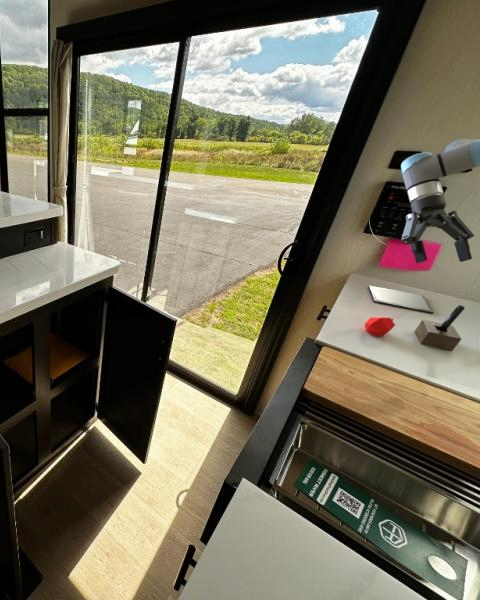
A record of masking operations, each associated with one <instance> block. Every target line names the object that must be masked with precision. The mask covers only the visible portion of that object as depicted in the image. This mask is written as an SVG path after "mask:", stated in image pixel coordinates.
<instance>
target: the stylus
mask: <svg viewBox="0 0 480 600" xmlns="http://www.w3.org/2000/svg"><path fill="white" fill-rule="evenodd" d="M464 310H465V306H464V305H463V304H462V305H461V304H459V305H457V306H456V307H455V308H454V310H453V311H452V312H451V313H450V314H449V315H448V316H447V318H446V319H445V320H444V321H443V322H442V325H441V326H440V327H439V328H438V330H439V331H444V332H445V331H446V330H447V328H448V327H449V326H450V325H451V326H452V324H453V323H454V322H455V320H457V318H458V317H460V315H461V314H462V313H463V311H464Z"/></svg>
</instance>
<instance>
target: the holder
mask: <svg viewBox="0 0 480 600" xmlns="http://www.w3.org/2000/svg"><path fill="white" fill-rule="evenodd" d="M442 324H443V322H442V323H441V322H437V321H431V320H427V319H421V321H420V323H419V324H418V325H417V326H416V329H414V334H415V336H416V338H417V339H418V343H419V344H420V345H424V346H428V347H431V348H436V349H440V350H445V351H449V352H453V351H454V349H455V348H456V347H457V345H458V344H459V343H460V342H461V340H462V337H461V335H460V334H459V332H458V331H457V329H456V328H455V326H454V325H452V324H451V325H450V326H449V327H448V328H447V330H446V331H445V332H444V331H439V330H438V328H439V327H440V326H441V325H442Z"/></svg>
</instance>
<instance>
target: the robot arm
mask: <svg viewBox="0 0 480 600" xmlns="http://www.w3.org/2000/svg"><path fill="white" fill-rule="evenodd" d="M476 167H480V138H472V137H466V138H465V137H464V138H459V139H457V140H454V141H452V142H450V144H448V145H447V146H446V148H445V149H444V151H443V152H442V153H439V154H435V155H433V153H432V152H430V151H423V152H419V153H415V154H413V155H411V156H408V157H407V158H406V159H404V160H403V161H402V163H401V164H400V169H401V176H402V179H403V182H404V186H405V190H406V193H407V196H408V200H409V203H410V208H411V213H408V214H407V215H405V221H406V222H405V226H404V229H403V232H402V236H401V239H400V240H401V242H402V243H405V245H409V246H410V249H411V252H412V253H413V256H414V261H415V263H416V264H419V263H423V262H426V261H428V257H427V253H426V249H425V245H424V241H423V240H420V239H421V237H422V236H423V234H424V233H425V231H426V230H427V228H430V227H432V228H437V229H441V231H443V232H445V233H446V234H447V235H448V236H449V237H451V238H452V239H453V240H455V242H453V244H454V247H455V250H456V254H457V258H458V261H459V262H462V263H463V262H466V261H469V260H473V256H472V253H471V247H470V243H469V239H472V238H474V237H475V234H474V233H473V231H471V230H470V228H469V227H468V225H466V224H465V222H464V221H463V220H462V219H461V218H460V217H459V215H458V212H457V211H456V210H452V211H450V212H447V211H446V210H445V208H446V207H447V201H446V197H445V195H444V190H443V187H442V183H441V180H440V179H441V178H442V179H443V178H445V177H448V176H451V175H455V174H459V173H461V172H464V171H468V170H470V169H474V168H476Z"/></svg>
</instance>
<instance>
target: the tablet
mask: <svg viewBox="0 0 480 600" xmlns="http://www.w3.org/2000/svg"><path fill="white" fill-rule="evenodd" d="M368 289H369V290H368V291H369V293H370V295H371V298H372V301H373V303H377V304H382V305H387V306H391V307H397V308H401V309H407V310H411V311H416V312H422V313H427V314H432V315H433V314H434V313H435V312H434V310H433V309H432V307H431V305H430V303H429V302H428V299H426V297H425V295H424V294H418V293H413V292H407V291H401V290H395V289H390V288H385V287H379V286H373V285H368Z"/></svg>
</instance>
